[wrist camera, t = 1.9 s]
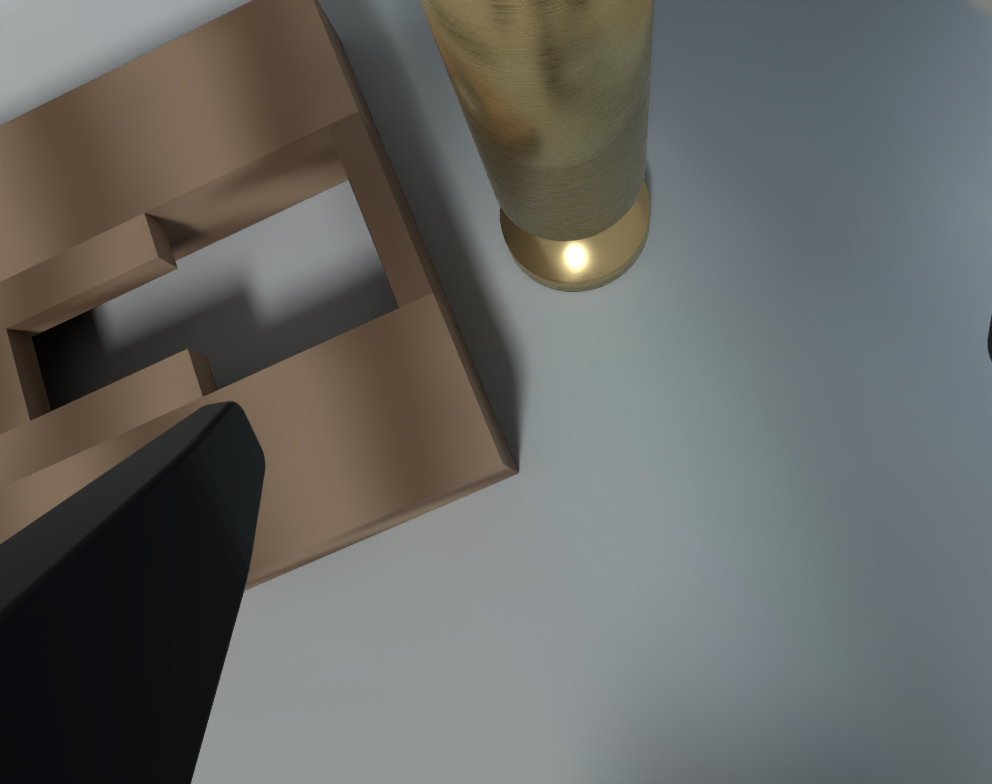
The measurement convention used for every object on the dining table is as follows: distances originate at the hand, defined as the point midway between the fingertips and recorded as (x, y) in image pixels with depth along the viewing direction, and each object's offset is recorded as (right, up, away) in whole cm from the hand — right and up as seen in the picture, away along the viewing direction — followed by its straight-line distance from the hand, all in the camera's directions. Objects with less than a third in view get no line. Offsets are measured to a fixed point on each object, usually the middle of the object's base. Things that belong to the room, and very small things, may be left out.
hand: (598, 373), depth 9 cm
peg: (+1, +5, +14) cm, 15 cm away
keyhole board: (-10, +2, +16) cm, 19 cm away
